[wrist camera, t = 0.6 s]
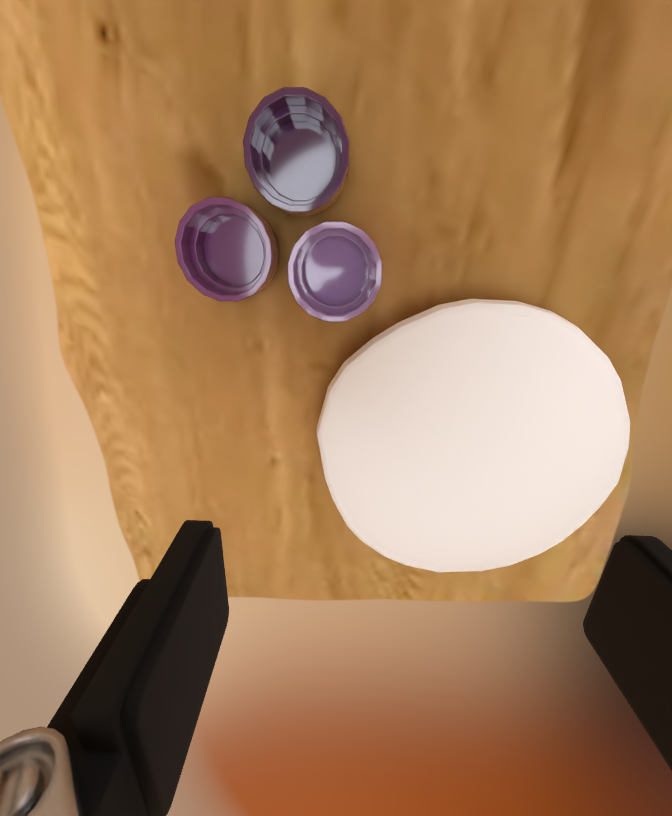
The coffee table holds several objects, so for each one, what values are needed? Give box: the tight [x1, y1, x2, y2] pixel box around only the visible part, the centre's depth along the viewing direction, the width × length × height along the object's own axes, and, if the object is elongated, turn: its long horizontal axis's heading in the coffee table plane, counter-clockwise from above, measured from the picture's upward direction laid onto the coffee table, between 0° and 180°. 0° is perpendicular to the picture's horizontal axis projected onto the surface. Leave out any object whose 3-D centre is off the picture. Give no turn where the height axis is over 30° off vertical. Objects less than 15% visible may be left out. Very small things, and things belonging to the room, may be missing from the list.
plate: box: [316, 299, 630, 572], centre depth 34 cm, size 28×6×27 cm
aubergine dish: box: [243, 87, 349, 216], centre depth 26 cm, size 7×7×4 cm
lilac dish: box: [287, 222, 382, 322], centre depth 29 cm, size 7×7×4 cm
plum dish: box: [175, 198, 279, 301], centre depth 29 cm, size 7×7×4 cm
